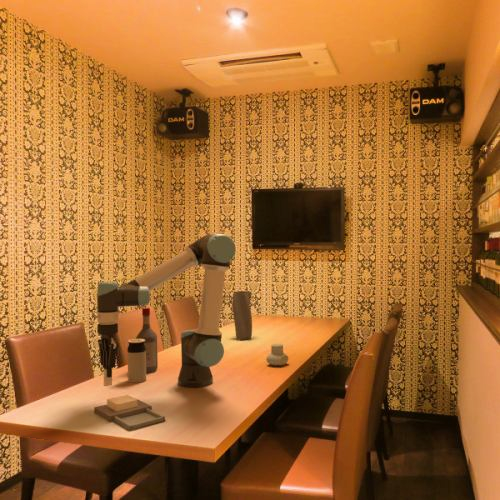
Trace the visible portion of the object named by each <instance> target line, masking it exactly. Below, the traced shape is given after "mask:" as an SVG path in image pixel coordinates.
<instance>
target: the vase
mask: <svg viewBox="0 0 500 500" xmlns="http://www.w3.org/2000/svg"><path fill="white" fill-rule="evenodd" d="M251 297H252V291H250V290H246V291H245V290H244V291H243V290H238V291H233V293H232V301H231V302H232V315H233V319H234V320H233V321H234V322H233V323H234V328H235V329H234V330H235V338H236V340H238V341H245V340H248V339H251V337H252V335H253V317H252V311H251V310H252V309H251Z"/></svg>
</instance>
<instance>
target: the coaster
mask: <svg viewBox="0 0 500 500" xmlns="http://www.w3.org/2000/svg"><path fill="white" fill-rule="evenodd" d="M138 400H139V399H138ZM138 400H137V398H136V399H135V397H133V396H131V395H129V394H125V395H120V396H115V397H111V398H107V399H106V405H107V406H108V407H110V408H111V409H113V410H115V411H121V410H125V409H129V408H133V407H138Z"/></svg>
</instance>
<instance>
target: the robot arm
mask: <svg viewBox="0 0 500 500" xmlns="http://www.w3.org/2000/svg"><path fill="white" fill-rule="evenodd" d="M235 244H236V243H235V242H234V240H233V239H232V238H231V237H230V236H229V235H227V234H224V233H214V234H212V233H211V234H205V235H204V236H201V237H200V238H198V239H197V240H196V241H194V242H192V243H191V244H189V245H188V246H186V247H185V248H184V250H183V251H182V252H179V253H178V254H177V255H175V256H173V257H171V258H169V259H168V260H165V261H164V262H162V263H160V264H159V265H157V266H155V267H154V268H152V269H150V270H148V271H146V272H145V273H143V274H141V275H139V276H137V277H136V278H134V279H132V280H130V281H129V282H127V283H123V284H121V285H119V283H118V282H116V281H103V282H98V284H97V293H96V301H97V302H96V303H97V304H96V305H97V307H96V308H97V311H96V313H97V314H96V315H95V316H96V318H97V327H96V330H97V334H98V335H100V339H97V343H98V344H97V345H98V350H99V360H100V366H102V368H103V386H104V387H110V386H112V385H113V369H114V368H116V362H117V352H118V348H119V343H118V342H116V338H115V335H116V334H118V332H119V324H118V322H119V308H120V307H122V308H123V307H141V306H148V305H149V303H150V301H151V293H150V292H151V291H152V290H155V288H157V287H159V286H161V285H163V284H164V283H166V282H169V280H171V279H173V278H175V277H176V276H178V275H180V274H182V273H183V272H185V271H187V270H189V269H191V268H192V267H199V266H200V265H201V266H202V267H203V268H204V273H203V274H204V275H203V282H202V291H201V297H200V298H201V300H200V306H199V307H200V308H199V314H198V315H199V316H198V324H197V325H198V326H197V328H195V329H189V330H182V332H181V334H180V340H181V341H180V345H181V346H180V348H181V350H180V351H181V353H180V354H181V367H180V369H179V370H180V371H179V373H178V377H177V385H179V386H180V387H181V386H182V387H185V388H186V387H187V388H199V387H207V386H209V385H212V384H213V382H214V379H213V378H214V376H213V374H212V370H211V368H212V367H214V366H216V365H218V364H219V363H220V362H221V361H222V359H223V357H224V354H225V349H224V348H225V347H224V344H223V343H222V335H223V333H222V332H221V330H220V322H221V315H222V314H221V312H222V304H223V295H224V286H225V279H226V277H225V276H226V271H228V270H229V269H230V267H231V266H230V265H231V261H232V259H234V257H235V254H236V245H235Z"/></svg>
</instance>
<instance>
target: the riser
mask: <svg viewBox="0 0 500 500" xmlns="http://www.w3.org/2000/svg"><path fill="white" fill-rule="evenodd" d="M134 398H135V397H134ZM135 399H137V398H135ZM137 400H138V407H133V408H129V409H125V410H121V411H115V410H113V409H111V408H110V407H108V406H107V404H103V405H98V406H95V407H93V410H94V411H93V412H94V414H96V415H97V416H99V417H101V418H102V419H104V420H105V421H107V422H109V423H112V422H115V421H114V417H115V416H117V417H118V418H124V417H128V416H132V415H136V414H140V413H144V412H146V409H150V410H152V411H153V409H152V408H153V407H152V405H151V404H148V403H146V402H144V401H142V400H140V399H137Z"/></svg>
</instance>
